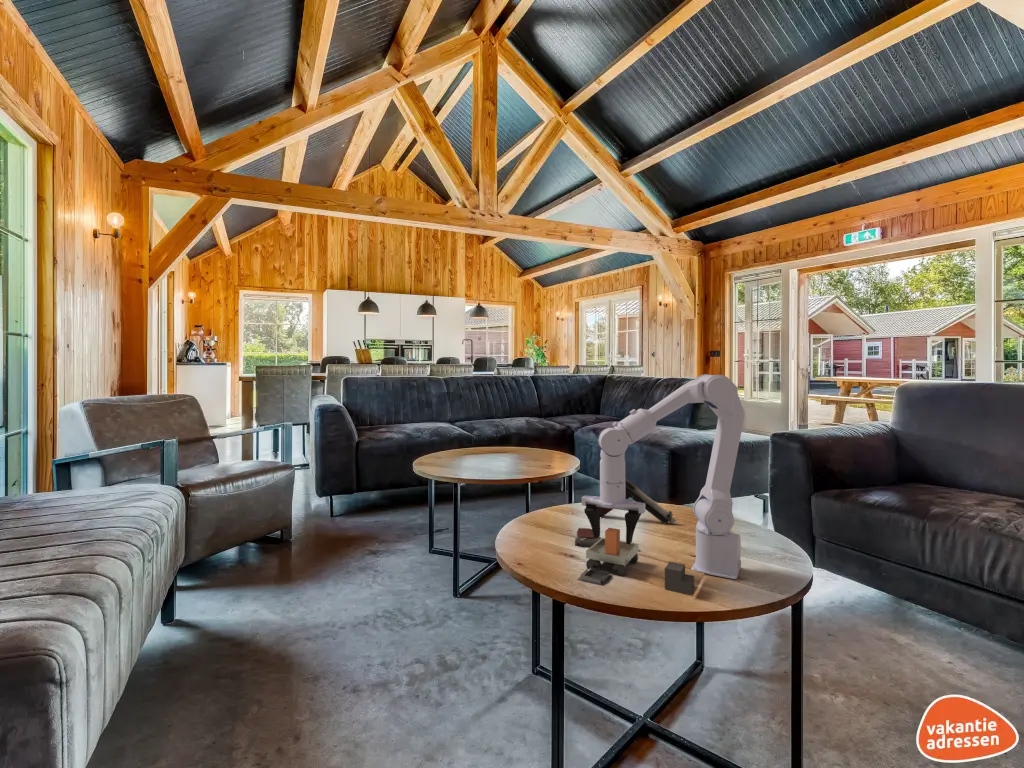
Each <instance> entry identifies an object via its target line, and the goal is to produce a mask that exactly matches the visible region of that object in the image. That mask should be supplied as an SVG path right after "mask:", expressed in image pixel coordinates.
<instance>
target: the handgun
mask: <svg viewBox="0 0 1024 768" xmlns="http://www.w3.org/2000/svg"><path fill="white" fill-rule="evenodd" d="M630 498H631V500H632V501H636V502H641V503H645V511H647V512H648V513H649V514H651V515H652V516H653V517H655V518H656V519H657V520H658V521H660V522H661V523H662V524H664V525H666V524H667V523H671V524H672V525H675V524H676V523H677V520H676V519H675V517H674V514H673V511H671V510H669V511H667V510H666V509H665V508H664V507H662V506H661V505H659V504H658V503H657V502H656V501H655V500H653V499H652V498H651V497H650V496H649V495H647V494H646V493H645V492H643V491H642V490H640V488H638V486H637V484H634V483H633V482H632V481H631V480H630V479H628V477H626V476H625V499H628V500H630ZM613 510H614V509H611V508H603V507H601V515H600V517H601V518H602V517H604V516H605V515H608V513H610V512H611V511H613Z"/></svg>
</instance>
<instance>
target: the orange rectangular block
mask: <svg viewBox="0 0 1024 768" xmlns="http://www.w3.org/2000/svg"><path fill="white" fill-rule="evenodd" d="M604 531H605V532H604V538H605V553H611V554H617V553H618V552H619V551H620V541H621V529H619V528H615V527H608V528H607V529H606V530H604Z"/></svg>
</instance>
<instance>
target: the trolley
mask: <svg viewBox="0 0 1024 768" xmlns="http://www.w3.org/2000/svg"><path fill="white" fill-rule="evenodd" d="M639 546H640V545H639V543H634V542H631V543H630V544H626V541H624V540H623V541H622V540H620V551H619V552H618V553H617V554H611V553H605V537H601V539H600V540H598V541H597V542H596V543H595V544H594V545H592V546H591V547H588V549H586V550H585V559H588V560H587V561H586V564H585V565H586V569H590V568H592V569H597V570H601V567H602V562H604V563H610V564H613V565H612V567H611V572H612V575H613V576H618V577H624V576H625V575H626V574H627V573H628V567H627V565H628V564H634V565H635V564H636V563H637V562H638V560H639V554H638V553H639Z"/></svg>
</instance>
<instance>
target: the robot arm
mask: <svg viewBox="0 0 1024 768" xmlns="http://www.w3.org/2000/svg"><path fill="white" fill-rule="evenodd" d="M738 391H739V389H738V386H737V385H735V383H734V382H733V380H732V379H730V378H729V377H728V376H725V375H723V374H709V373H706V374H705V373H704V374H701V375H699V376H698V377H696V378H695V379H691V380H690V381H688V382H686V383H685V384H683V385H682V386H680V387H679V388H677V389H676V390H674V391H673V392H671V393H670V394H668V395H667V396H665V397H664V398H663V399H662V400H660V401H659V402H657V403H656V404H654V405H653V406H652V407H649V409H644V408H638V409H637V410H636V409H635V408H634V409H632V410H631V411H629V415H628V416H626V417H624V418H623V419H621V420H620V421H618V422H617V421H614V422H612V423H611V424H612V426H613V427H608V428H607V427H606V428H605V429H603V430H602V431H601V432H600V434H599V437H598V439H597V443H598V446H599V447H600V448H601V449H600V454H599V456H600V460H599V495H597V496H596V495H595V496H594V495H583V496H581V506H585V508H584V514H585V516H586V517H587V519H588V522H589V524H590V528H591V529H592V531H593V535H594V538H595V539H597V538H598V537H601V518H600V515H601V507H603V508H611V509H613V510H620V511H627V512H625V514H624V519H625V520H624V521H625V529H626V533H625V542H626V544H630V543H633V537H634V533H635V529H636V526H637V524H638V521H639V520H640V517H641V516H642V514H645V512H646V509H645V503H641V502H636V501H634V500H633V499H625V477H626V460H625V459H626V458H625V457H626V456H625V455H626V453H625V452H626V451H627V449H628V448H629V447H628V446H629V445H633V444H634V443H636V442H638V441H640V439H643V438H644V437H645V436H647V435H649V434H650V433H651V432H653V431H655V429H656V425H657V422H658V421H661V420H662V419H663V418H665V417H667V416H668V415H670V414H671V413H674V412H675V411H677V410H679V409H681V408H682V407H684V406H685V405H687V404H697V403H698V404H699V403H701V404H702V403H704V404H706V405H707V406H708V407H709V408H710V409H711V410H712V411H713V413H714V415H716V417H717V422H716V430H715V435H714V439H713V443H712V449H711V454H710V460H709V465H708V470H707V475H706V480H705V485H704V486H703V487H702V488H701V490H700V492H699V496H698V498H697V499H696V500H695V502H694V504H693V508H692V511H693V515H694V517H695V518H696V519H697V523H696V526H695V561H694V563H693V565H692V566H691V568H690V570H691V571H695V572H699V573H704V575H705V574H706V575H709V576H717V577H721V578H727V579H731V580H737V579H738V576H739V573H740V571H741V568H742V560H741V558H742V557H741V554H742V553H741V549H742V548H741V547H742V546H741V545H742V544H741V535H740V534H739V533H735V532H732V531H731V529H732V528H733V526H734V523H735V519H734V514H733V505H734V504H733V498H732V495H731V487H732V483H733V482H732V481H733V477H734V473H735V471H734V470H735V468H736V462H737V456H738V451H739V444H740V442H741V441H740V440H741V435H742V432H743V426H744V422H745V421H744V420H745V410H744V407H743V404H742V402H741V399H740V396H739V393H738Z"/></svg>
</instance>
